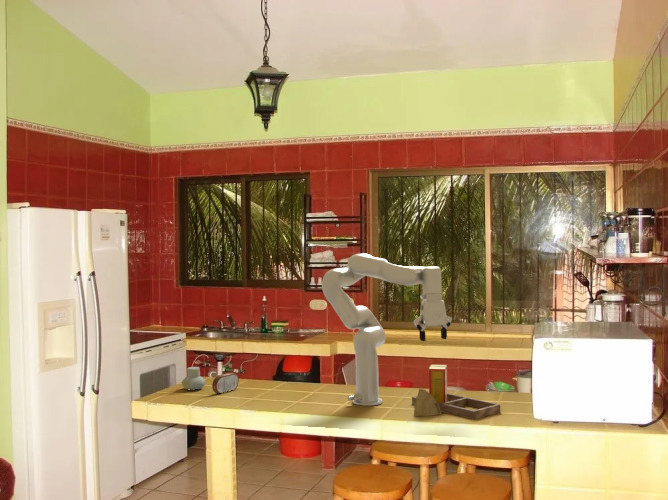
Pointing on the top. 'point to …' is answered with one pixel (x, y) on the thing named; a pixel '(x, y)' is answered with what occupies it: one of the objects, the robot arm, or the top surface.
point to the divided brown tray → (460, 401)
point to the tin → (225, 382)
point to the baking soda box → (438, 382)
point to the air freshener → (193, 379)
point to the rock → (426, 404)
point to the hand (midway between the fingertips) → (433, 339)
